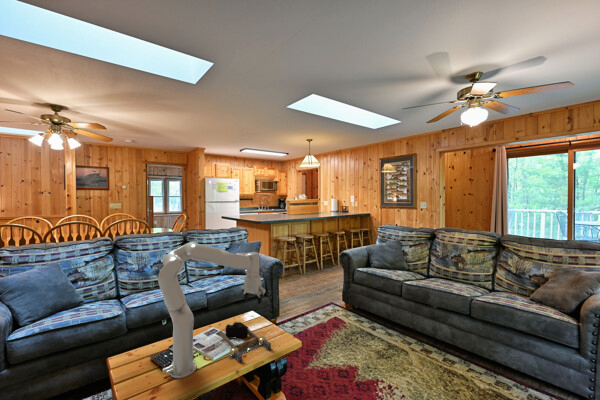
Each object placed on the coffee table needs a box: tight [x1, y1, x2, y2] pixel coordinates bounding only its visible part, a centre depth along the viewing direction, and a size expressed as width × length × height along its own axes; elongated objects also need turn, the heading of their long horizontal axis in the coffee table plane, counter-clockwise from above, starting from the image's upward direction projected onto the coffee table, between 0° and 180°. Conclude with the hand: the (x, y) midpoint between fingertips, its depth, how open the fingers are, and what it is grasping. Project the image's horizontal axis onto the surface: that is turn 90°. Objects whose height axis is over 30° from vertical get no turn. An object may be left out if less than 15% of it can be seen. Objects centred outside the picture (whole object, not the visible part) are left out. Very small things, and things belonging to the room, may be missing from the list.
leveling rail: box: [227, 343, 264, 360], centre depth 153 cm, size 25×4×1 cm, turn 128°
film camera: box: [225, 321, 249, 340], centre depth 169 cm, size 15×10×9 cm, turn 82°
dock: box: [218, 322, 259, 351], centre depth 164 cm, size 16×22×3 cm
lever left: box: [229, 347, 243, 363], centre depth 145 cm, size 11×4×3 cm, turn 38°
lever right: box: [258, 335, 272, 351], centre depth 156 cm, size 11×4×3 cm, turn 38°
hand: (252, 301), depth 156 cm, fingers open, 9 cm apart
